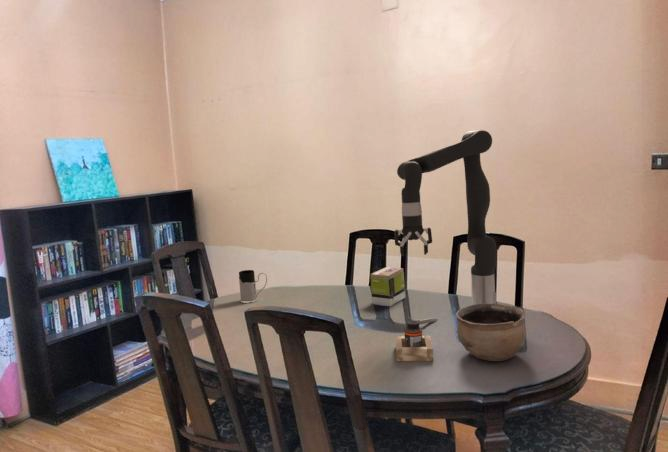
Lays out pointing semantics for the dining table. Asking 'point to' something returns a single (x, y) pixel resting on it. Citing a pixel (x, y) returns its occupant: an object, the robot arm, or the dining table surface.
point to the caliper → (424, 320)
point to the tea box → (387, 286)
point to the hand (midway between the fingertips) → (414, 255)
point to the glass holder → (248, 285)
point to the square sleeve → (414, 350)
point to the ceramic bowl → (491, 330)
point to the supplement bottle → (413, 334)
